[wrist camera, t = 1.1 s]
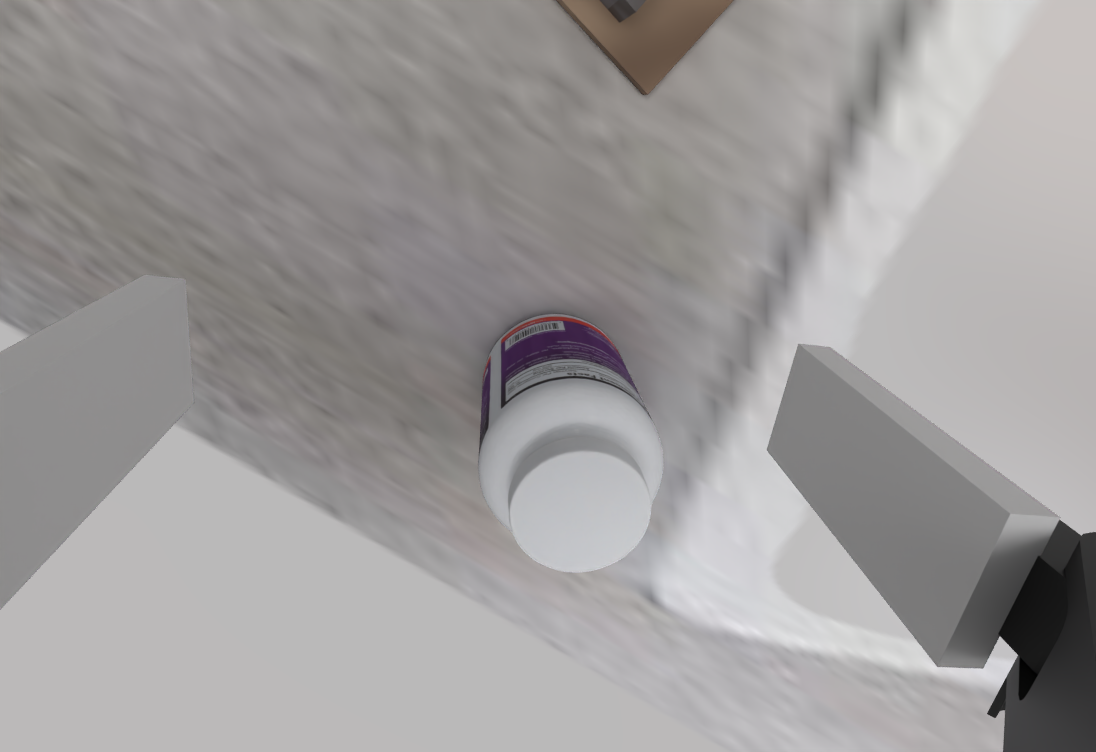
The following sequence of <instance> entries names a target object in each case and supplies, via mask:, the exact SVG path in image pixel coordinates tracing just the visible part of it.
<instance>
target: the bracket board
mask: <svg viewBox="0 0 1096 752" xmlns="http://www.w3.org/2000/svg"><path fill="white" fill-rule="evenodd" d="M556 1H557V2H558V3H559V4H560V5H561V6H562V7H563V8H564V9H565V10H566V11H567V13H568V14H569V15H570V16H571V17H572V18H573V19H574V20H575V21H576V22H577V23H578V24H579V26H580V27H581V28H582V29H583V30H584V31H585V32H586V33H587V34H588V35H589V36H590V38H591V39H592V40H593V41H594V42H595V43H596V44H597V45H598V46H599V47H600V48H601V50H602V51H603V52H604V53H605V54H606V55H607V56H608V57H609V58H610V59H611V60H612V62H613V63H614V64H615V65H616V66H617V67H618V68H619V69H620V70H621V71H622V72H623V73H624V75H625V76H626V77H627V78H628V79H629V80H630V81H631V82H632V83H633V84H634V85H635V87H636V88H637V89H638V90H639V91H640V92H641V93H642V94H643V95H648V94H649V93H650V92H651V91H652V90H653V88H654V87H655V86H656V85H657V84H658V83H659V82H660V81H661V80H662V79H663V77H664V76H665V75H666V74H667V73H668V72H669V71H670V70H671V69H672V68H673V66H674V65H675V64H676V63H677V62H678V61H679V60H680V59H681V58H682V57H683V55H684V54H685V53H686V52H687V51H688V50H689V49H690V48H691V47H692V46H693V44H694V43H695V42H696V41H697V40H698V39H699V38H700V37H701V36H702V35H703V33H704V32H705V31H706V30H707V29H708V28H709V27H710V26H711V25H712V24H713V22H714V21H715V20H716V19H717V18H718V17H719V16H720V15H721V14H722V12H723V11H724V10H725V9H726V8H727V7H728V6H729V5H730V4H731V3H732V1H733V0H556Z"/></svg>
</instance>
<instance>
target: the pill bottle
mask: <svg viewBox="0 0 1096 752" xmlns="http://www.w3.org/2000/svg"><path fill="white" fill-rule="evenodd" d="M478 466H479V480H480V485H481V489H482V492H483V495H484V498H485V500H486V502H487V504H488V506H489V508H490V509H491V511H492V512H493V514H494V515H495V517H496V518H497V519H498V520H499V521H500V522H501V524H503V525H504V526H505V527H506V528H507V529H508V530H509V531H511V532H512V533H513V536H514V538H515V540H516V542H517V543H518V545H519V546H520V547H521V549H522V550H523V551H524V552H525V553H526V554H527V555H528V556H529V557H531V558H532V559H533V560H535V561H536V562H538V563H539V564H541V565H543V566H546V567H548V568H551V569H554V570H558V571H563V572H573V573H578V572H589V571H594V570H598V569H601V568H604V567H607V566H609V565H611V564H614V563H616V562H617V561H619V560H620V559H622V558H624V557H625V556H626V555H627V554H628V553H630V552H631V551H632V550H633V549H634V548H635V547H636V546H637V545H638V543H639V542H640V540H641V539H642V537H643V536H644V534H645V532H646V530H647V528H648V524H649V521H650V516H651V505H652V503H653V501H654V499H655V497H656V495H657V493H658V490H659V487H660V484H661V480H662V475H663V467H664V457H663V449H662V444H661V440H660V437H659V434H658V432H657V430H656V427H655V425H654V423H653V421H652V419H651V417H650V415H649V413H648V411H647V409H646V407H645V405H644V403H643V401H642V399H641V397H640V395H639V393H638V391H637V389H636V387H635V385H634V383H633V381H632V379H631V377H630V375H629V373H628V371H627V369H626V367H625V365H624V363H623V361H622V358H621V356H620V354H619V352H618V350H617V349H616V347H615V346H614V344H613V343H612V341H611V340H610V339H609V338H608V337H607V335H606V334H605V333H604V332H602V331H601V330H600V329H599V328H597V327H596V326H594V325H593V324H591V323H589V322H587V321H585V320H582V319H580V318H577V317H574V316H570V315H564V314H547V315H540V316H536V317H533V318H530V319H527V320H525V321H523V322H521V323H519V324H517V325H516V326H514V327H513V328H511V329H510V330H509V331H507V332H506V333H505V334H504V335H503V336H502V337H501V338H500V339H499V341H498V342H497V343H496V344H495V346H494V347H493V349H492V351H491V353H490V355H489V357H488V359H487V362H486V365H485V369H484V374H483V386H482V410H481V430H480V447H479V460H478Z"/></svg>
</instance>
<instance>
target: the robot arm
mask: <svg viewBox="0 0 1096 752" xmlns="http://www.w3.org/2000/svg"><path fill="white" fill-rule="evenodd" d="M193 404H194V392H193V378H192V364H191V350H190V336H189V322H188V308H187V294H186V280H185V279H181V278H171V277H162V276H153V275H143V276H141V277H139V278H138V279H136V280H134V281H132V282H130V283H128V284H126V285H124V286H123V287H121V288H119V289H117V290H115V291H113V292H111V293H110V294H108V295H106V296H104V297H102V298H100V299H98V300H96V301H95V302H93V303H91V304H89V305H87V306H85V307H83V308H81V309H80V310H78V311H76V312H74V313H72V314H70V315H68V316H67V317H65V318H63V319H61V320H59V321H57V322H55V323H53V324H52V325H50V326H48V327H46V328H44V329H42V330H40V331H39V332H37V333H35V334H33V335H31V336H29V337H27V338H26V339H24V340H22V341H20V342H18V343H16V344H14V345H13V346H11V347H9V348H7V349H5V350H3V351H1V352H0V610H1V608H2V607H3V606H4V605H5V604H6V603H7V602H8V601H9V600H10V599H11V598H12V597H13V596H14V595H15V594H16V592H17V591H18V590H19V589H20V588H21V587H22V586H23V585H24V584H25V583H26V582H27V581H28V580H29V579H30V578H31V576H32V575H33V574H34V573H35V572H36V571H37V570H38V569H39V568H40V567H41V566H42V565H43V564H44V563H45V562H46V560H47V559H48V558H49V557H50V556H51V555H52V554H53V553H54V552H55V551H56V550H57V549H58V548H59V547H60V545H61V544H62V543H63V542H64V541H65V540H66V539H67V538H68V537H69V536H70V535H71V534H72V533H73V532H74V531H75V529H76V528H77V527H78V526H79V525H80V524H81V523H82V522H83V521H84V520H85V519H86V518H87V517H88V516H89V515H90V514H91V512H92V511H93V510H94V509H95V508H96V507H97V506H98V505H99V504H100V503H101V502H102V501H103V500H104V499H105V497H106V496H107V495H108V494H109V493H110V492H111V491H112V490H113V489H114V488H115V487H116V486H117V485H118V484H119V483H120V482H121V480H122V479H123V478H124V477H125V476H126V475H127V474H128V473H129V472H130V471H131V470H132V469H133V468H134V467H135V465H136V464H137V463H138V462H139V461H140V460H141V459H142V458H143V457H144V456H145V455H146V454H147V453H148V452H149V451H150V449H151V448H152V447H153V446H154V445H155V444H156V443H157V442H158V441H159V440H160V439H161V438H162V437H163V436H164V434H165V433H166V432H167V431H168V430H169V429H170V428H171V427H172V426H173V425H174V424H175V423H176V422H177V421H178V420H179V419H180V417H181V416H182V415H183V414H184V413H185V412H186V411H187V410H188V409H189V408H190V407H191V406H192V405H193ZM767 451H768V452H769V454H770V455H771V456H772V457H773V459H774V460H775V461H776V462H777V464H778V465H779V466H780V468H781V469H782V470H783V471H784V473H785V474H786V475H787V476H788V478H789V479H790V480H791V481H792V483H793V484H794V485H795V487H796V488H797V489H798V490H799V492H800V493H801V494H802V495H803V497H804V498H805V499H806V501H807V502H808V503H809V504H810V506H811V507H812V508H813V509H814V511H815V512H816V513H817V514H818V516H819V517H820V518H821V519H822V521H823V522H824V523H825V525H826V526H827V527H828V528H829V530H830V531H831V532H832V534H833V535H834V536H835V537H836V538H837V540H838V541H839V542H840V544H841V545H842V546H843V547H844V549H845V550H846V551H847V553H849V555H850V556H851V558H852V559H853V560H854V561H855V563H856V564H857V565H858V567H859V568H860V569H861V570H862V571H863V573H864V574H865V575H866V576H867V578H868V579H869V580H870V582H871V583H872V584H873V585H874V587H875V588H876V589H877V591H878V592H879V593H880V594H881V596H882V597H883V598H884V600H885V601H886V602H887V603H888V605H889V606H890V607H891V608H892V610H893V611H894V612H895V613H896V615H897V616H898V617H899V619H900V620H901V621H902V622H903V624H904V625H905V626H906V627H907V629H908V630H909V631H910V632H911V634H912V635H913V636H914V638H915V639H916V640H917V641H918V643H919V644H920V645H921V646H922V648H923V649H924V650H925V652H926V653H927V654H928V655H929V657H930V658H931V659H932V660H933V662H934V663H935V664H936V666H937V667H957V668H984V666H985V664H986V662H987V660H988V658H989V656H990V654H991V652H992V650H993V648H994V646H995V644H996V642H997V640H998V638H999V636H1001V637H1002V638H1003V640H1004V641H1005V642H1006V643H1007V644H1008V645H1009V646H1010V647H1011V648H1012V649H1013V650H1014V651H1015V652H1016V653H1017V654H1018V657H1017V658H1016V660H1015V662H1014V664H1013V666H1012V668H1011V670H1010V672H1009V673H1008V675H1007V677H1006V679H1005V681H1004V683H1003V685H1002V687H1001V688H1000V690H999V692H998V694H997V696H996V698H995V700H994V702H993V703H992V705H991V707H990V709H989V711H988V713H987V714H988V715H990V716H992V717H994V718H996V716H997V715H998V713H999V712H1000V711H1001V710H1005V726H1004V746H1003V752H1096V532H1093V533H1086V534H1083V535H1082V536H1081V535H1080V534H1078V533H1077V532H1075V531H1074V530H1073V529H1071V528H1070V527H1069V526H1067V525H1066V524H1065V523H1063V522H1062V521H1061V520H1059V519H1060V517H1059V516H1058V515H1056V514H1055V513H1054V512H1052V511H1051V510H1050V509H1048V508H1047V507H1045V506H1044V505H1043V504H1042V503H1040V502H1039V501H1038V500H1036V499H1035V498H1033V497H1032V496H1031V495H1029V494H1028V493H1027V492H1025V491H1024V490H1023V489H1021V488H1020V487H1019V486H1017V485H1016V484H1015V483H1013V482H1012V481H1010V480H1009V479H1008V478H1006V477H1005V476H1004V475H1002V474H1001V473H1000V472H998V471H997V470H995V469H994V468H993V467H991V466H990V465H989V464H987V463H986V462H985V461H983V460H982V459H981V458H979V457H978V456H977V455H975V454H974V453H972V452H971V451H970V450H968V449H967V448H965V447H964V446H963V445H961V444H960V443H959V442H958V441H956V440H955V439H954V438H952V437H951V436H949V435H948V434H947V433H945V432H944V431H943V430H941V429H940V428H938V427H937V426H936V425H935V424H933V423H932V422H930V421H929V420H928V419H927V418H925V417H924V416H922V415H921V414H920V413H918V412H917V411H916V410H914V409H913V408H911V407H910V406H909V405H908V404H906V403H905V402H903V401H902V400H901V399H899V398H898V397H896V396H895V395H894V394H893V393H891V392H890V391H888V390H887V389H886V388H885V387H883V386H882V385H880V384H879V383H878V382H876V381H875V380H873V379H872V378H871V377H870V376H868V375H867V374H866V373H864V372H863V371H862V370H860V369H859V368H857V367H856V366H855V365H853V364H852V363H851V362H849V361H848V360H847V359H845V358H844V357H843V356H841V355H840V354H839V353H837V352H836V351H834V350H833V349H832V348H830V347H824V346H814V345H805V344H798V347H797V350H796V354H795V357H794V360H793V364H792V367H791V371H790V374H789V377H788V381H787V384H786V387H785V391H784V394H783V397H782V401H781V404H780V407H779V411H778V414H777V417H776V421H775V424H774V427H773V431H772V434H771V437H770V441H769V444H768V447H767Z"/></svg>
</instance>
